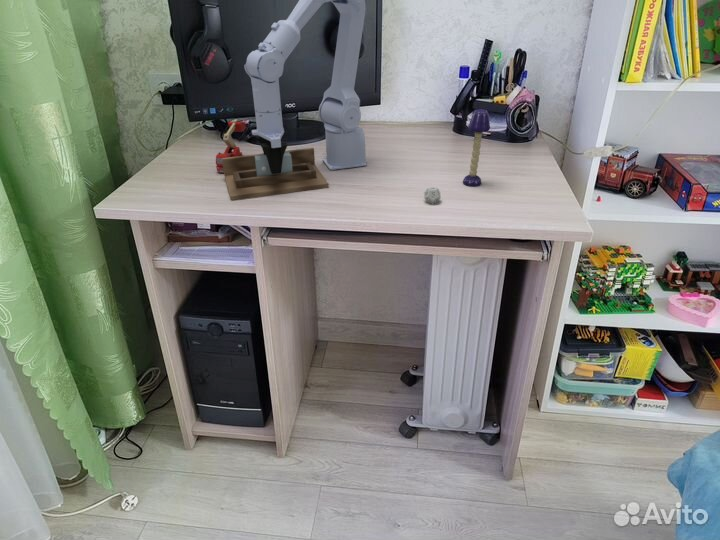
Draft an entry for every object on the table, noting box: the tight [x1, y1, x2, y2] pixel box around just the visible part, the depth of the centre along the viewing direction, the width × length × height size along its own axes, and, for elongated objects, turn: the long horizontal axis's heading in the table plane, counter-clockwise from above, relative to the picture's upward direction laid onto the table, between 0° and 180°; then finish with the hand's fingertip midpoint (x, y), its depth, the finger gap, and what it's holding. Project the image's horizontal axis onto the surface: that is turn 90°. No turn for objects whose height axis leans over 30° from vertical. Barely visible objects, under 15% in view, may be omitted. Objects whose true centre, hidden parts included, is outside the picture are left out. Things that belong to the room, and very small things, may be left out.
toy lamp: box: [462, 108, 491, 187], centre depth 121 cm, size 5×5×17 cm
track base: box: [222, 147, 330, 201], centre depth 126 cm, size 22×14×5 cm, turn 108°
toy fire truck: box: [215, 121, 247, 174], centre depth 136 cm, size 3×14×10 cm, turn 169°
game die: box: [423, 186, 441, 205], centre depth 116 cm, size 4×4×3 cm
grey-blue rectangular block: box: [255, 152, 293, 176], centre depth 125 cm, size 8×3×6 cm, turn 108°
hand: (274, 168), depth 126 cm, fingers open, 5 cm apart
